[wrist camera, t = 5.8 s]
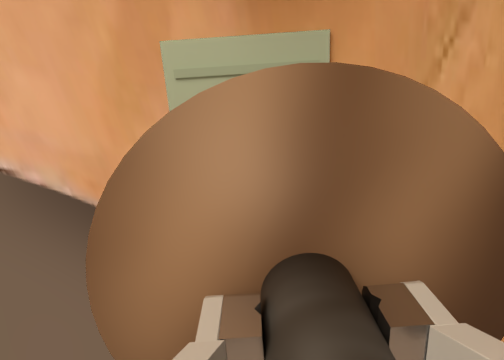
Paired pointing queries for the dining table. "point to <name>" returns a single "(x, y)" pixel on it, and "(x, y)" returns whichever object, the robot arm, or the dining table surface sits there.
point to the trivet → (234, 58)
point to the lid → (299, 213)
